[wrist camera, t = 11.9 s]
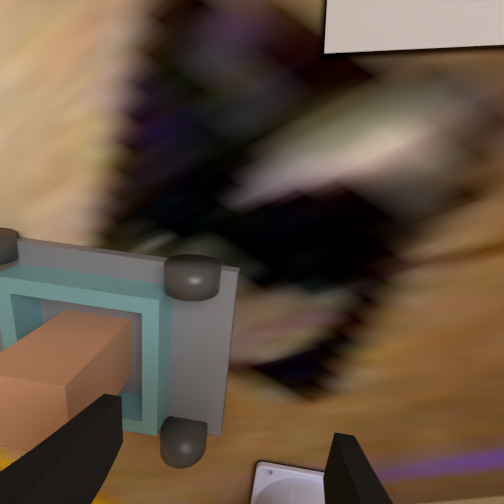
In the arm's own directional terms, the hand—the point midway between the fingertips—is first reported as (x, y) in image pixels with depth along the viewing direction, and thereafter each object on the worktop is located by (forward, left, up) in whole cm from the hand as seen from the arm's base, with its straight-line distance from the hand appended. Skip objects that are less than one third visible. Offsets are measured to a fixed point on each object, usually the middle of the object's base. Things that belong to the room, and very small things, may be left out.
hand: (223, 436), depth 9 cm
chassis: (+10, +4, -9) cm, 14 cm away
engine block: (+10, +4, -9) cm, 14 cm away
